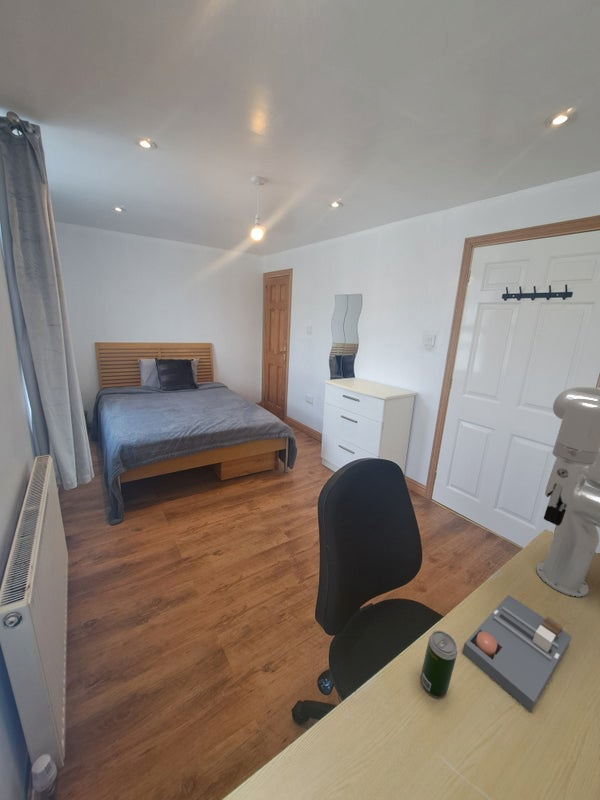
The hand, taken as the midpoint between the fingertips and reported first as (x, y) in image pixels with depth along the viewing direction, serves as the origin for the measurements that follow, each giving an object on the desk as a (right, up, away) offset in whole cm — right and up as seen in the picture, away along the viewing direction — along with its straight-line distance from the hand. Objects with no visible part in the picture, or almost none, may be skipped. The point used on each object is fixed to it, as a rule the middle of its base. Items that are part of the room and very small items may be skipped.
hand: (552, 521), depth 78 cm
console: (-10, -30, -1) cm, 32 cm away
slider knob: (-5, -27, -3) cm, 28 cm away
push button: (-18, -29, -3) cm, 35 cm away
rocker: (0, -26, 0) cm, 26 cm away
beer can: (-33, -31, -10) cm, 47 cm away
